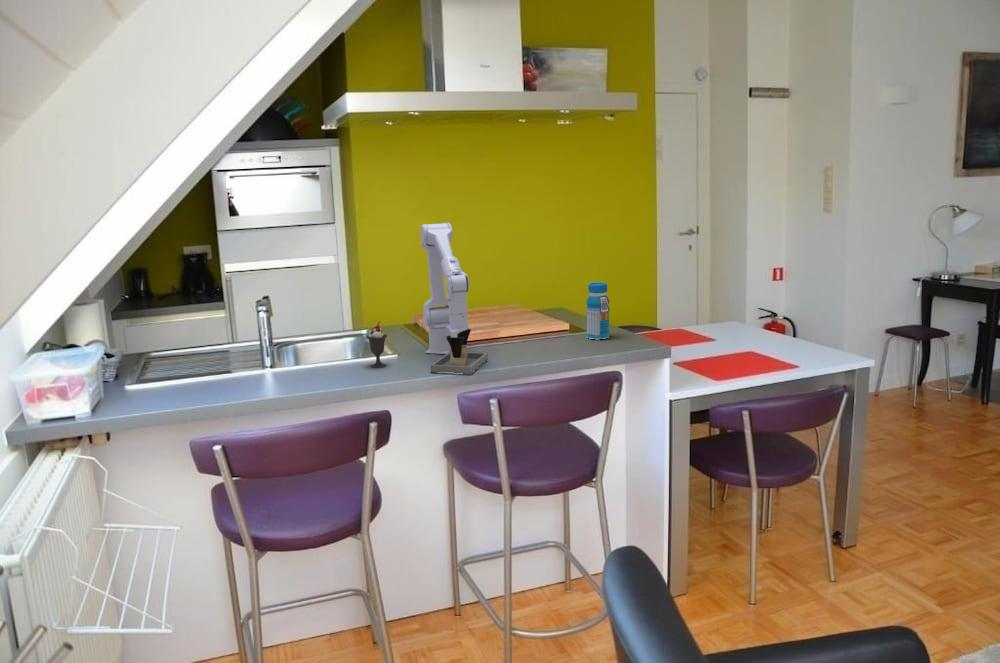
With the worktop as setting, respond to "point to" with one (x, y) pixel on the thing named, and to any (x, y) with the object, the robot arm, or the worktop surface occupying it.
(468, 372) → the tray
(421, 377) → the worktop surface
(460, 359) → the block
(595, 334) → the beverage bottle
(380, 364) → the sundae
